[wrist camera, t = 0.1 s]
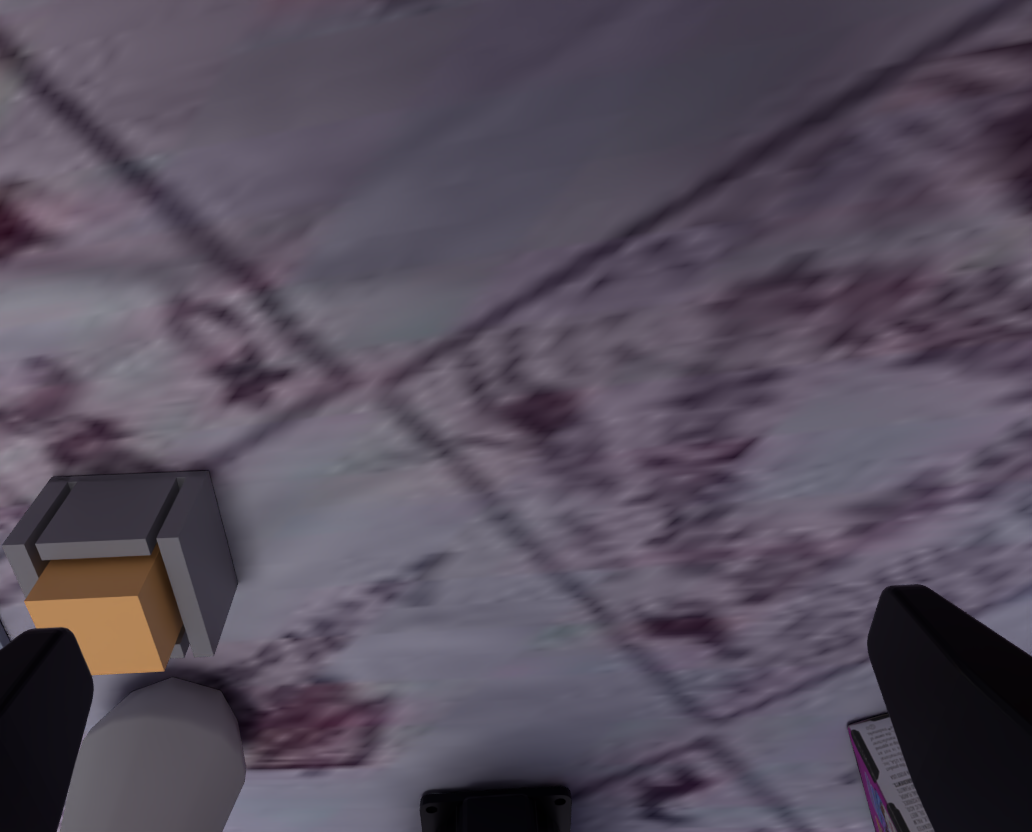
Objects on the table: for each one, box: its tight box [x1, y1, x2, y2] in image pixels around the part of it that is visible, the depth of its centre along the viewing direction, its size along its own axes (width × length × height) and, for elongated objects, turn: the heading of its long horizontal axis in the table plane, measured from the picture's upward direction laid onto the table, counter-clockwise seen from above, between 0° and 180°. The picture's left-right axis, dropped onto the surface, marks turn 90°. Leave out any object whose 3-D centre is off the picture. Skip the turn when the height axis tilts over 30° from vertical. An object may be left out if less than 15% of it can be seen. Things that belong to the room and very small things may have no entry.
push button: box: [24, 542, 183, 675], centre depth 24 cm, size 3×3×3 cm
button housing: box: [2, 471, 238, 659], centre depth 25 cm, size 5×5×3 cm
